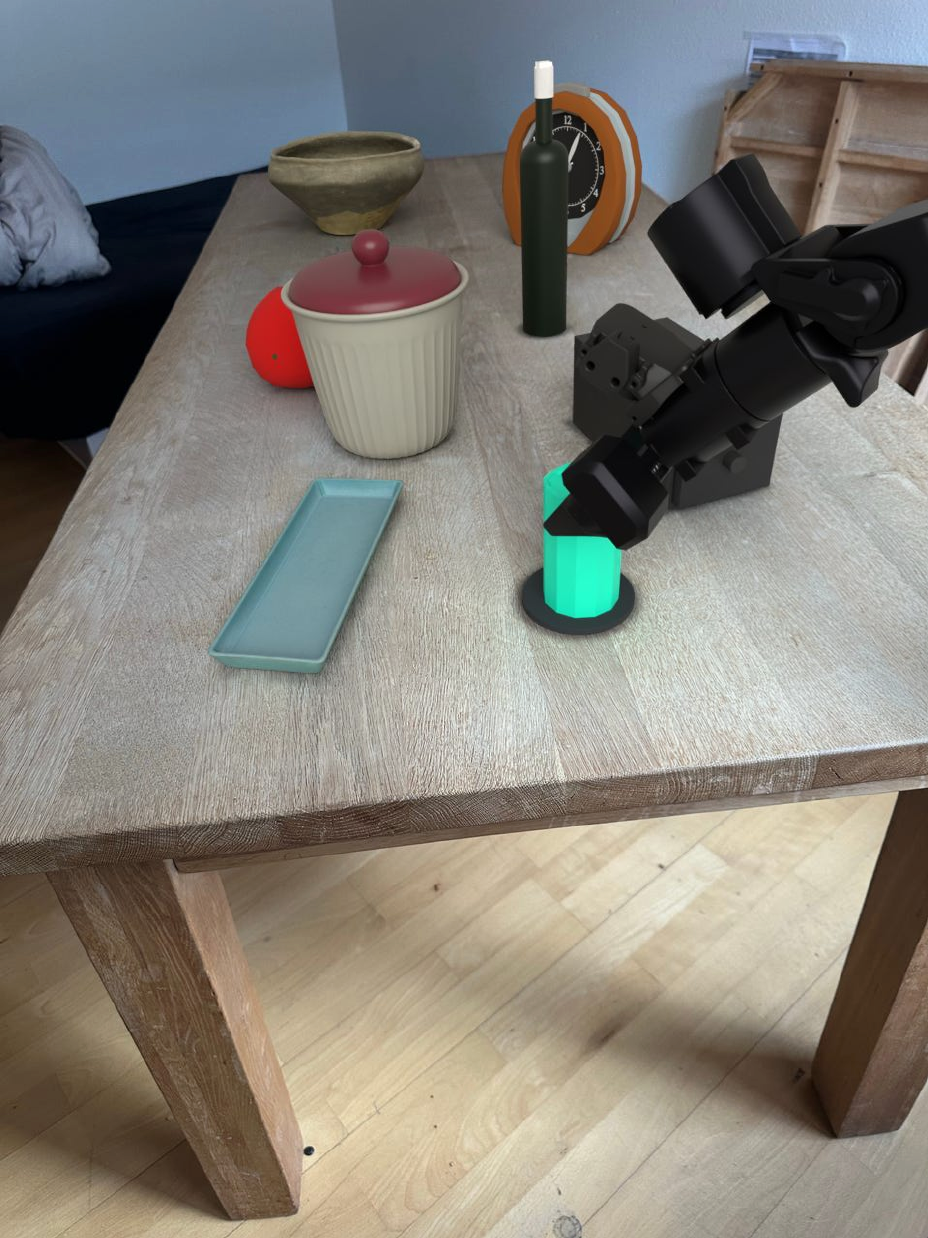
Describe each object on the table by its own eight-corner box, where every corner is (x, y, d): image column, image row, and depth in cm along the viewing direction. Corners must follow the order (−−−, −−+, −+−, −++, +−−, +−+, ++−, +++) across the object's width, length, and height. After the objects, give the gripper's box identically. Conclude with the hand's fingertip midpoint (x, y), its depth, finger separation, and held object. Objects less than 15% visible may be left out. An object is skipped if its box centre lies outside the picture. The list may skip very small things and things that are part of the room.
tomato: (291, 427, 102) (360, 387, 110) (321, 351, 92) (394, 313, 100) (215, 356, 102) (290, 321, 111) (238, 272, 92) (318, 241, 101)
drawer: (777, 491, 77) (793, 412, 72) (685, 515, 75) (695, 435, 70) (667, 405, 91) (673, 334, 86) (588, 423, 89) (590, 351, 84)
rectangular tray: (317, 494, 83) (312, 472, 82) (407, 498, 82) (404, 475, 80) (212, 678, 63) (203, 653, 62) (328, 687, 62) (322, 662, 60)
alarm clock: (495, 241, 144) (489, 86, 130) (528, 226, 150) (525, 76, 136) (609, 258, 133) (616, 91, 119) (639, 241, 139) (650, 79, 125)
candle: (558, 625, 65) (559, 489, 57) (532, 580, 69) (530, 449, 62) (631, 608, 66) (641, 472, 58) (601, 565, 70) (607, 434, 63)
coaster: (658, 604, 67) (659, 598, 66) (570, 651, 63) (570, 645, 63) (583, 553, 73) (584, 547, 72) (499, 593, 69) (499, 587, 69)
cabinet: (764, 485, 79) (782, 389, 73) (663, 511, 77) (673, 414, 71) (659, 402, 94) (667, 316, 88) (572, 422, 91) (574, 335, 85)
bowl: (311, 260, 143) (295, 167, 134) (259, 225, 162) (243, 142, 153) (456, 227, 152) (450, 139, 143) (391, 199, 171) (382, 119, 162)
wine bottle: (536, 318, 116) (534, 57, 97) (573, 324, 113) (579, 57, 94) (514, 332, 112) (508, 64, 93) (552, 339, 109) (553, 65, 90)
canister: (499, 407, 95) (491, 206, 82) (442, 489, 82) (421, 265, 69) (355, 393, 101) (326, 202, 87) (281, 467, 88) (232, 256, 74)
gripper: (714, 227, 55) (560, 364, 67) (598, 326, 43) (436, 472, 55) (815, 360, 57) (648, 471, 69) (730, 493, 45) (545, 600, 57)
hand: (575, 498), depth 62 cm, fingers open, 9 cm apart
